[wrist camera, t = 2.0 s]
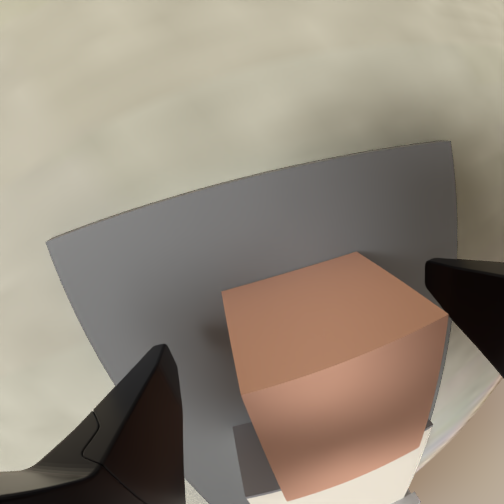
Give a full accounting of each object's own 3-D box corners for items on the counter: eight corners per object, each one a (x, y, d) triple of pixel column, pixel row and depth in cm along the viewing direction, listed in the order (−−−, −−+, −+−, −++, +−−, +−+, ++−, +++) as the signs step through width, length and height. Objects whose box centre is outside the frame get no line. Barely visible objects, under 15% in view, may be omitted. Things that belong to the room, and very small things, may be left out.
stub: (364, 371, 13) (419, 447, 8) (259, 408, 12) (286, 501, 7) (356, 251, 11) (449, 313, 6) (220, 291, 10) (240, 395, 5)
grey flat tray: (415, 450, 18) (446, 495, 13) (227, 515, 17) (237, 571, 11) (441, 140, 11) (547, 149, 5) (52, 237, 9) (-42, 304, 4)
